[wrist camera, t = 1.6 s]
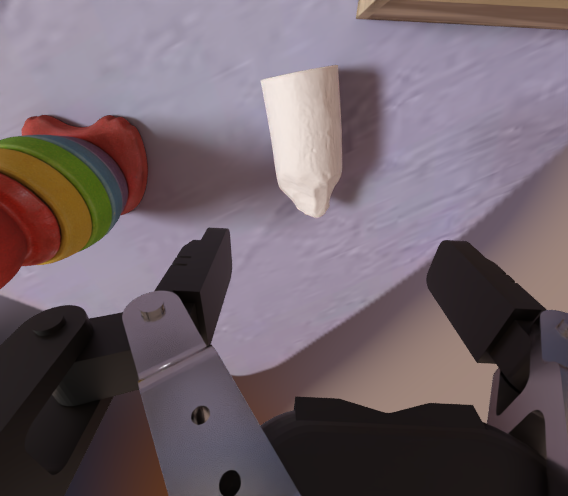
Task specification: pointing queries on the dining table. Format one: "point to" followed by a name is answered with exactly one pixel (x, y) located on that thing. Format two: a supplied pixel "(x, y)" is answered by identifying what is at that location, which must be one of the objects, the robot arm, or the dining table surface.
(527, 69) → the dining table surface
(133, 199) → the stacking bear
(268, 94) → the roll
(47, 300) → the dining table surface
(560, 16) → the box
